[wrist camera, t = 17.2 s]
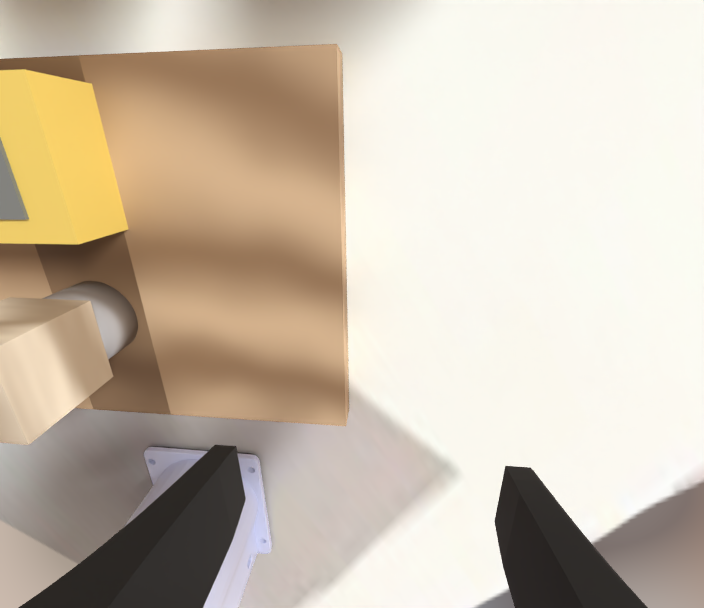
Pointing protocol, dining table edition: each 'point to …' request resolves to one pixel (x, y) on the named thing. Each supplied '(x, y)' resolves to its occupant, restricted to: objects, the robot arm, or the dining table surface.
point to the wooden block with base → (57, 354)
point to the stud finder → (54, 163)
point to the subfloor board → (216, 231)
